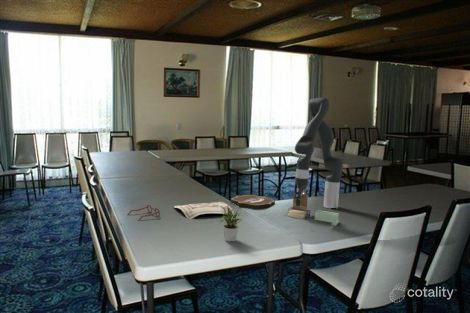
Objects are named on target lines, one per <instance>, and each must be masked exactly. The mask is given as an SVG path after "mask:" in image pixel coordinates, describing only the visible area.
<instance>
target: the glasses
mask: <svg viewBox="0 0 470 313" xmlns="http://www.w3.org/2000/svg"><path fill="white" fill-rule="evenodd" d="M145 209H147V212H148V213H149V214H145V215H142V216H140V217H139V218H138V220H137V222H139V221H140V220H141V219H142V218H144V217H151V216H154V215H155V216H156V217H158V218H159V217H160V216H161V213H160V210H159V209H158V208H157V207H155V208H153V207H152V206H151V205H150V204H147V205H146V206H144V207H142V208H139V209H131V210H130V211H129V212H128V213H127V215H126V216H129V215H130V214H131V213H132V212H138V211H139V212H140V211H142V210H145ZM149 209H150V210H149ZM153 211H154V213H153Z"/></svg>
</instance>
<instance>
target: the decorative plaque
mask: <svg viewBox="0 0 470 313" xmlns="http://www.w3.org/2000/svg"><path fill="white" fill-rule="evenodd" d="M231 202H232V203H234V204H236V205H235V206H237V207H238V206H239V207H238V208H244V209H251V210H263V209H270V208H272V207H274V206H275V204H276V200H275V199H273V198H269V197H267V196H261V195H260V196H259V195H254V194H245V195H234V197H231V198H230V203H231ZM234 204H233V205H234Z"/></svg>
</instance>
